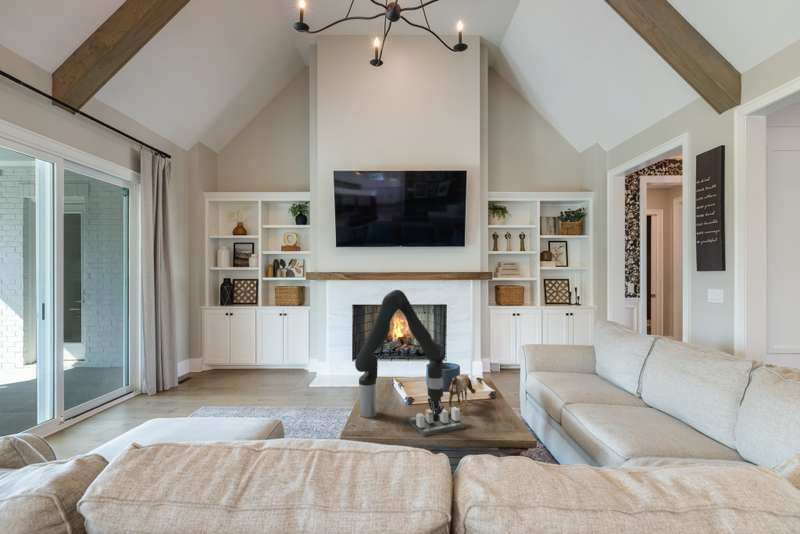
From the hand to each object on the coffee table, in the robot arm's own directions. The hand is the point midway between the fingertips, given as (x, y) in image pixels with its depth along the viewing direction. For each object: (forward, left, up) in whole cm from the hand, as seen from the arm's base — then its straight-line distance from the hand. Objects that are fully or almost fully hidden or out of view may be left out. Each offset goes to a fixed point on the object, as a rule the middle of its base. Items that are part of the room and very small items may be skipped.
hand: (435, 421), depth 197 cm
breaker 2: (-7, 0, -3) cm, 7 cm away
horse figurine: (-20, +28, -6) cm, 35 cm away
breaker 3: (-4, +7, -3) cm, 8 cm away
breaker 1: (-4, -6, -3) cm, 8 cm away
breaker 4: (-4, +13, -3) cm, 14 cm away
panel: (-7, +3, -5) cm, 9 cm away
